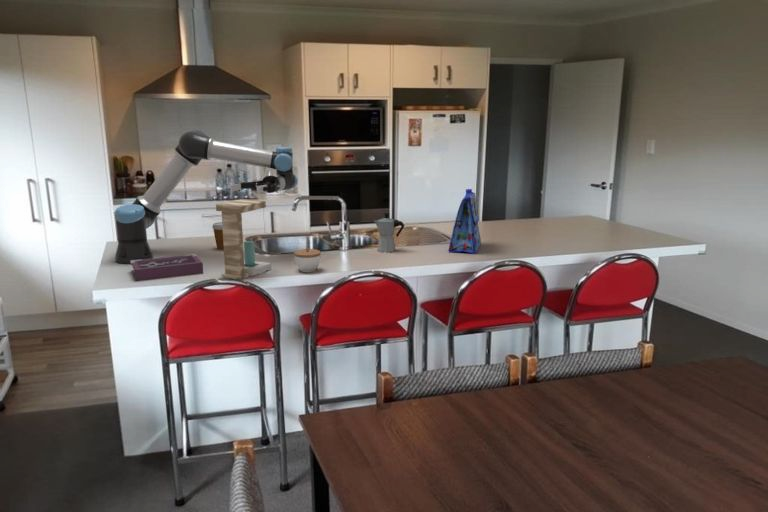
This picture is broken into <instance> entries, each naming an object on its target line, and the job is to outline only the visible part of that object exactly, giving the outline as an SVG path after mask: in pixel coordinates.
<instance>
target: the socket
mask: <svg viewBox="0 0 768 512" xmlns="http://www.w3.org/2000/svg"><path fill="white" fill-rule="evenodd" d="M269 269H270V270H272V262H264V261H256V260H255V266H254V267H246V266H245V260H244V270H245V273H247V274H248V276H249V275H253V276H252V277H255V276H258V275H260V274H263V273H265V272H267V271H266V270H268V271H270V270H269ZM264 271H265V272H264ZM262 272H263V273H262ZM259 273H260V274H259ZM257 274H258V275H257ZM254 275H255V276H254Z"/></svg>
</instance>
